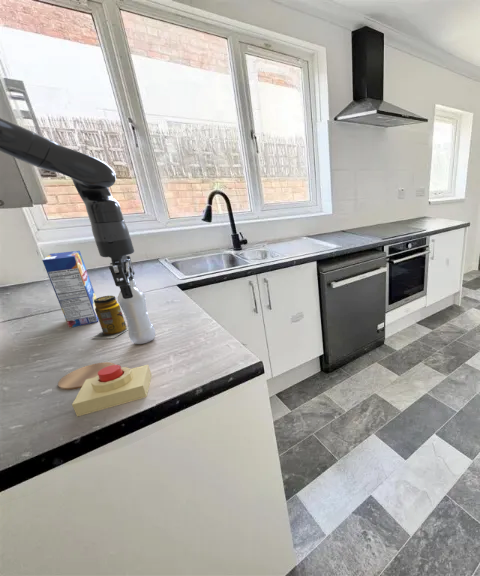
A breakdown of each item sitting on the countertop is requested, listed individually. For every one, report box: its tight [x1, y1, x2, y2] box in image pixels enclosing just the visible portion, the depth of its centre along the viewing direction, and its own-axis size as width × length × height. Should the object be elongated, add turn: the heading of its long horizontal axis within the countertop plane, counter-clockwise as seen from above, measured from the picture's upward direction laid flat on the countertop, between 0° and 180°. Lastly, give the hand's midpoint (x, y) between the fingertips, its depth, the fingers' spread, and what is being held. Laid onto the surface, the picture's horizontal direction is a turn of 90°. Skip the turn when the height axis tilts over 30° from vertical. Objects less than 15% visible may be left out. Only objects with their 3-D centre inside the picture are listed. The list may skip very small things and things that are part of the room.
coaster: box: [57, 361, 116, 391], centre depth 79 cm, size 11×11×1 cm
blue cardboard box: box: [41, 250, 99, 329], centre depth 108 cm, size 12×8×24 cm, turn 37°
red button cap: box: [98, 364, 123, 382], centre depth 70 cm, size 4×4×2 cm
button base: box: [71, 364, 153, 417], centre depth 71 cm, size 12×10×5 cm
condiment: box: [91, 295, 129, 340], centre depth 100 cm, size 7×8×12 cm
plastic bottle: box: [117, 278, 156, 345], centre depth 93 cm, size 6×7×20 cm
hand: (130, 294), depth 91 cm, fingers closed on plastic bottle, 6 cm apart
